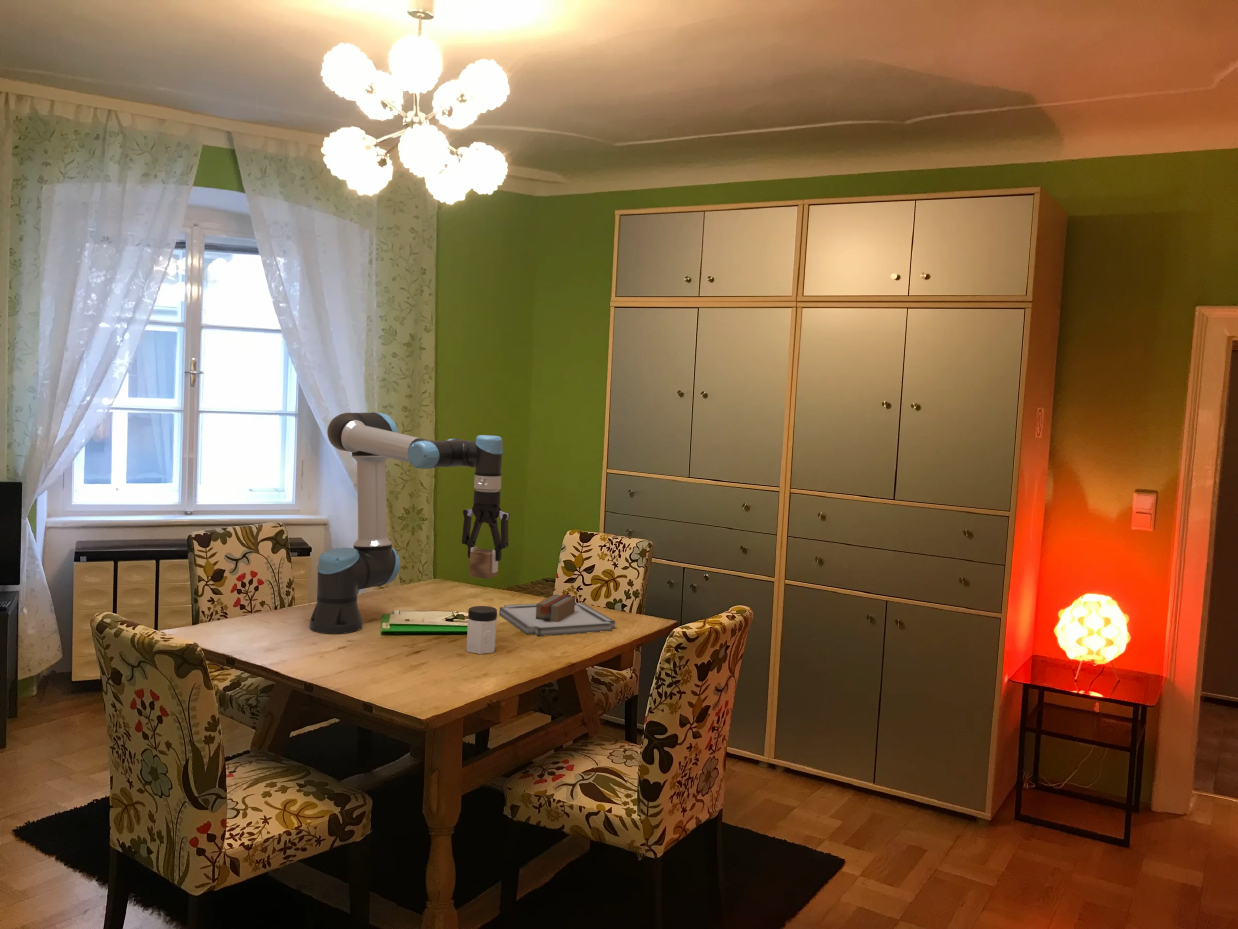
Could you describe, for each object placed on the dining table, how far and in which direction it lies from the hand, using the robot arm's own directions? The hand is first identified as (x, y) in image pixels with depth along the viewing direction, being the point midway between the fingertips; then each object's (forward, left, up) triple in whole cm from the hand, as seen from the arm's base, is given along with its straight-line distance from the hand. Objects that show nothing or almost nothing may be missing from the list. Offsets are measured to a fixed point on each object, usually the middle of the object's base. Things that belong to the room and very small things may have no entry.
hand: (483, 570), depth 280 cm
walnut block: (0, 0, -1) cm, 1 cm away
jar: (0, 0, -23) cm, 23 cm away
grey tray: (+8, +41, -24) cm, 48 cm away
